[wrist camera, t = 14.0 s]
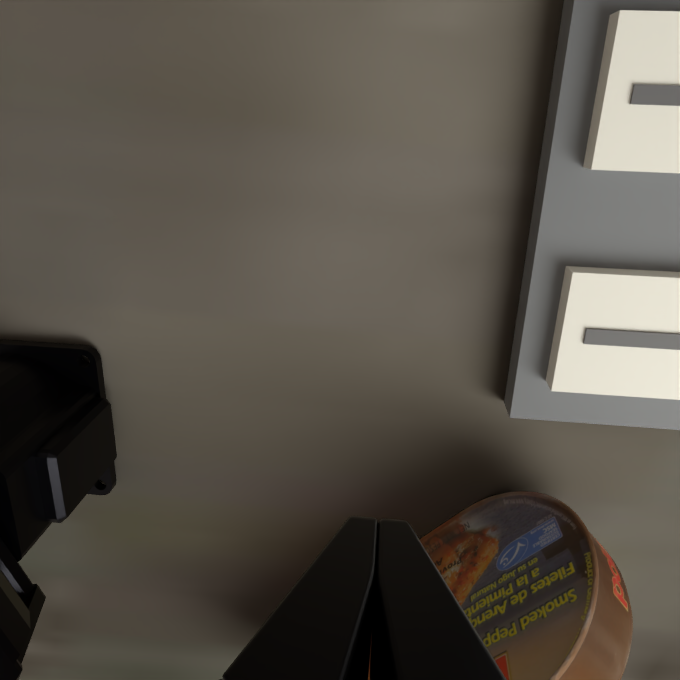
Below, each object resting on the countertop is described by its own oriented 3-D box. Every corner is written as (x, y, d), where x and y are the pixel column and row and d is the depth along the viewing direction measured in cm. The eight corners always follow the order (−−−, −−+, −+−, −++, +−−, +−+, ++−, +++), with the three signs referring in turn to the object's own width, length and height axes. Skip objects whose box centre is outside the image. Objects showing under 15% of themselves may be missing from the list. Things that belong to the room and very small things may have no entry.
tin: (549, 452, 22) (630, 634, 15) (597, 506, 23) (699, 708, 15) (273, 631, 27) (222, 842, 19) (319, 672, 28) (288, 892, 20)
